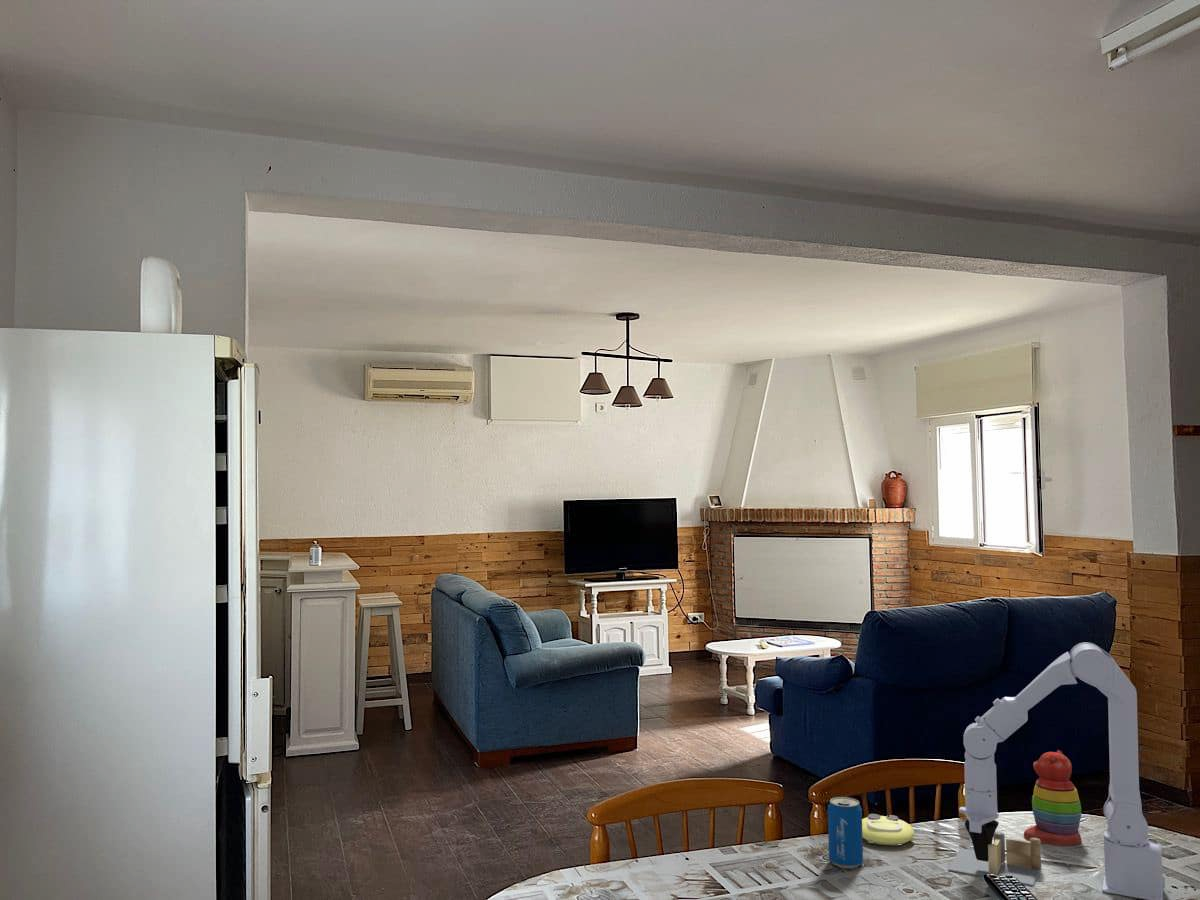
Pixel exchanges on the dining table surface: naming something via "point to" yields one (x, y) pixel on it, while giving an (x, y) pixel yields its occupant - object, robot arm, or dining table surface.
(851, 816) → the beverage can
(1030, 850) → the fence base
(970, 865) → the card
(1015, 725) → the robot arm
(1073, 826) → the stacking bear
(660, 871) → the dining table surface
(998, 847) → the fence panel
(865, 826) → the emoji
